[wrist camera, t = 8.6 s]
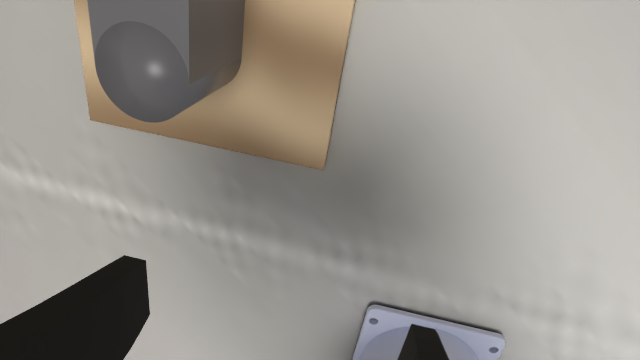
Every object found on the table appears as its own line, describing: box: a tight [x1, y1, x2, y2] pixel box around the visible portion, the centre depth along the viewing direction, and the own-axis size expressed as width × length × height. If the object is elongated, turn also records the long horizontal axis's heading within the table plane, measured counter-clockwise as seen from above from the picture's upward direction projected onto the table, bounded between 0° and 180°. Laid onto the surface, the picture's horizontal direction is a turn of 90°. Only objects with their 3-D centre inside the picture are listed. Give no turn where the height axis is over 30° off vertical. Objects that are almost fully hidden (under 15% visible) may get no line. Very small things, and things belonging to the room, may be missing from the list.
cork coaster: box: [74, 0, 355, 170], centre depth 16 cm, size 12×12×1 cm
